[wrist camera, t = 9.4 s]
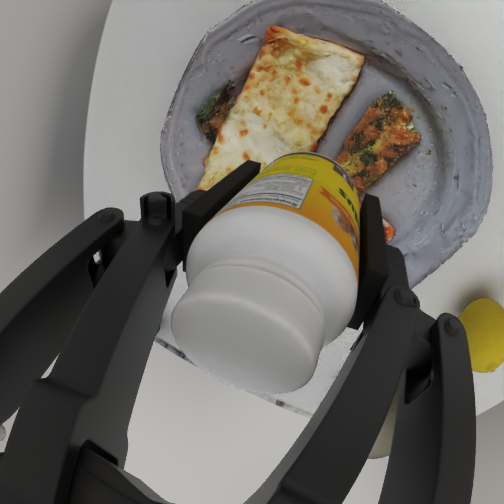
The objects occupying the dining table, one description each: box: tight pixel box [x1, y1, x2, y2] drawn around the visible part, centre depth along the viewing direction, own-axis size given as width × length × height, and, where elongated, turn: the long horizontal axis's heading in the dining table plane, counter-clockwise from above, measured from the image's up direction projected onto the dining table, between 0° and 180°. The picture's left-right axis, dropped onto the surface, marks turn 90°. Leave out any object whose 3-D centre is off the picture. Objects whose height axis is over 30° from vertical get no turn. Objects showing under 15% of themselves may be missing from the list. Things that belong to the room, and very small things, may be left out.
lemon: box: [459, 298, 504, 373], centre depth 17 cm, size 6×6×8 cm
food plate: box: [160, 0, 493, 290], centre depth 18 cm, size 25×23×4 cm
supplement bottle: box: [171, 152, 360, 394], centre depth 11 cm, size 6×6×10 cm
